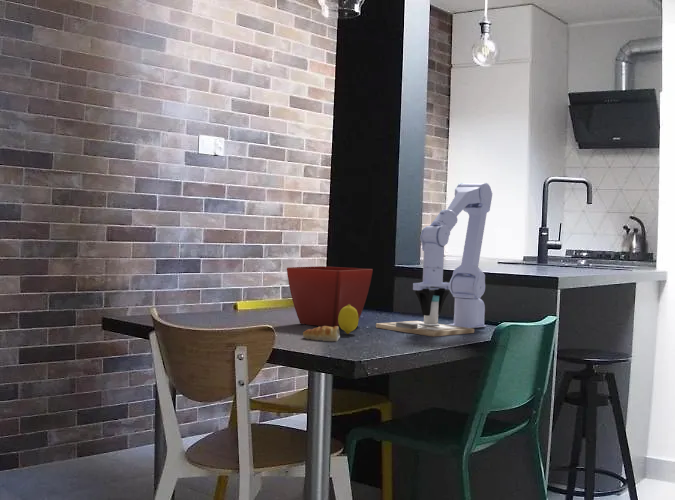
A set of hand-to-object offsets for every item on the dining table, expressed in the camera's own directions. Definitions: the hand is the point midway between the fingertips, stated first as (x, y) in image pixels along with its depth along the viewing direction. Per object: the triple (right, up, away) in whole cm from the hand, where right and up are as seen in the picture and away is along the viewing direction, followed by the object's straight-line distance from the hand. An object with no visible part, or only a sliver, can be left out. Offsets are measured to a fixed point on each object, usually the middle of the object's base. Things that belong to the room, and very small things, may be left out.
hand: (431, 315), depth 234 cm
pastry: (-30, -5, -26) cm, 40 cm away
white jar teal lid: (0, -2, 0) cm, 2 cm away
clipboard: (-2, -5, +3) cm, 6 cm away
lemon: (-24, -4, -13) cm, 28 cm away
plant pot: (-30, -4, +8) cm, 31 cm away
